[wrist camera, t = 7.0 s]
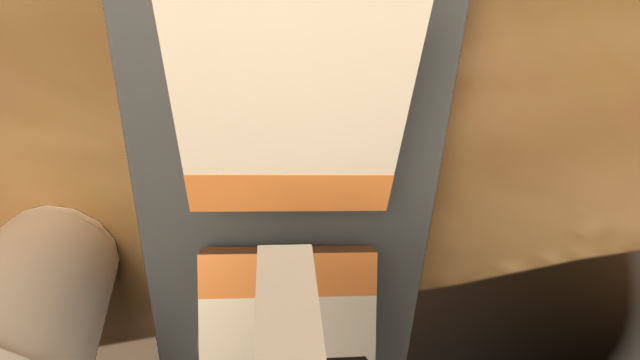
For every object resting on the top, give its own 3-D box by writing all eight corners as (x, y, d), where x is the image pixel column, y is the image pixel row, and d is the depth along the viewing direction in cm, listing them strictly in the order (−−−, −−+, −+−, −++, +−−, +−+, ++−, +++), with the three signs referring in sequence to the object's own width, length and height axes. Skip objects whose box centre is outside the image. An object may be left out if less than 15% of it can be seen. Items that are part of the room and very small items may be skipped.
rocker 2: (202, 423, 24) (195, 449, 22) (199, 244, 23) (192, 254, 21) (369, 416, 25) (378, 441, 23) (373, 242, 24) (381, 252, 22)
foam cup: (151, 195, 26) (55, 403, 15) (143, 320, 31) (63, 559, 19) (-39, 168, 25) (-309, 378, 13) (-20, 304, 29) (-215, 553, 18)
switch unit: (175, 327, 31) (156, 403, 26) (122, -81, 20) (71, -81, 15) (394, 321, 32) (415, 393, 27) (452, -65, 21) (504, -62, 17)
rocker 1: (191, 176, 21) (184, 211, 19) (155, -40, 15) (141, -12, 13) (383, 177, 22) (391, 210, 20) (425, -29, 15) (441, -2, 14)
